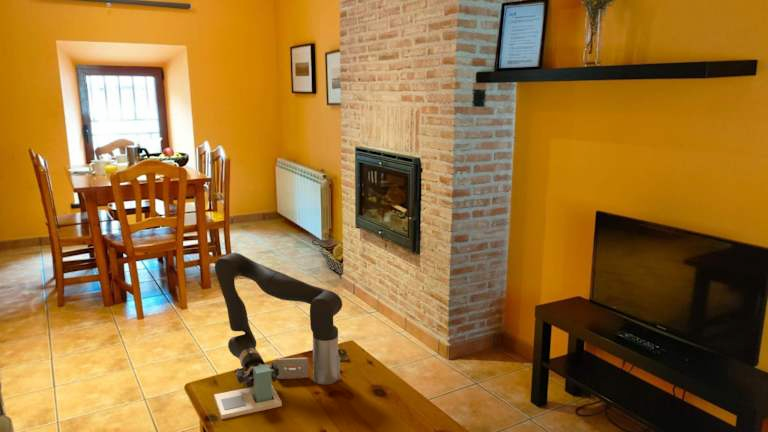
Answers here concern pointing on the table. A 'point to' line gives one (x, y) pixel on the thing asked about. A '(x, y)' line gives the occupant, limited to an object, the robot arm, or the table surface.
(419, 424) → the table surface
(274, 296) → the robot arm
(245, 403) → the puzzle board
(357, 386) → the table surface
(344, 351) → the seal
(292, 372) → the cassette
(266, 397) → the teal block
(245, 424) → the table surface
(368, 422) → the table surface
